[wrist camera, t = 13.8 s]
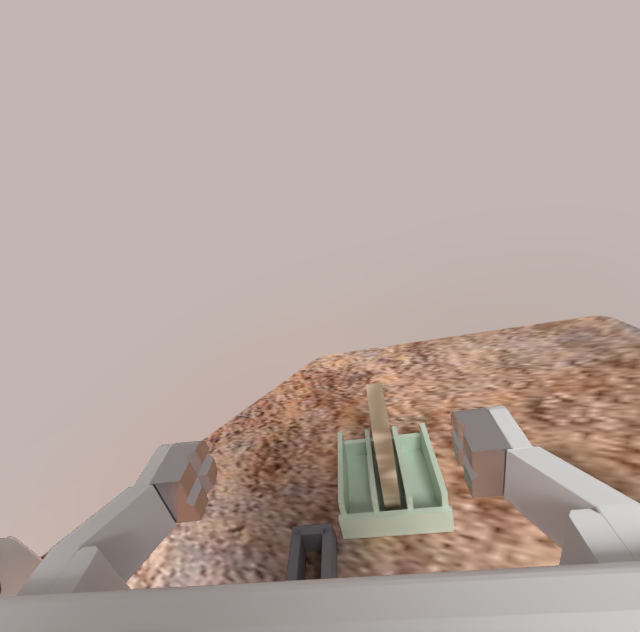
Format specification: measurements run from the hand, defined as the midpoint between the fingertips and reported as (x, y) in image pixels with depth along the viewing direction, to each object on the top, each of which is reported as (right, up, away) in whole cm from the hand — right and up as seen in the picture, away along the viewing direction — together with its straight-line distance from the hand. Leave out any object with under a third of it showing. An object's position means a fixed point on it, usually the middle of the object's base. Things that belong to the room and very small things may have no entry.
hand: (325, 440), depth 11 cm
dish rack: (+9, -18, +30) cm, 36 cm away
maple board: (+8, -17, +30) cm, 35 cm away
